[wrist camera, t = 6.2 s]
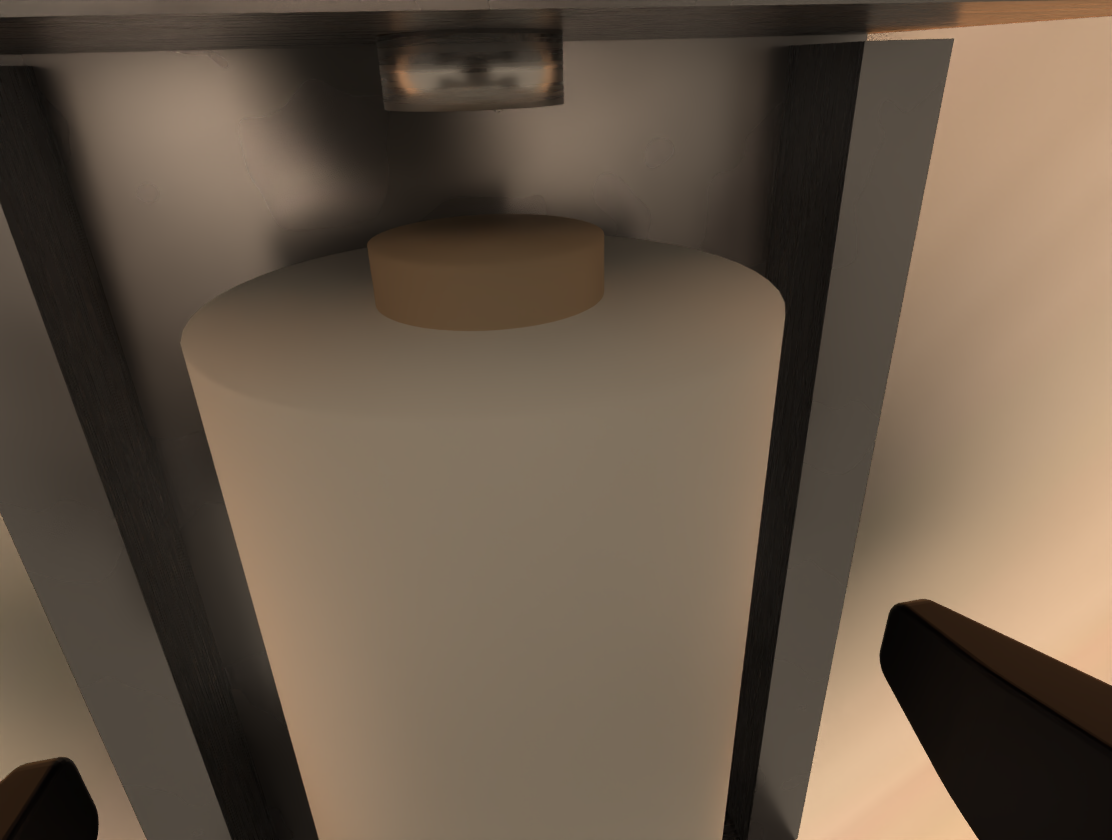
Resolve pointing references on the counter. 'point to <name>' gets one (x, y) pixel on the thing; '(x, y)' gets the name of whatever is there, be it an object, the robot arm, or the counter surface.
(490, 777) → the roll
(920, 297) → the counter surface
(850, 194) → the holder
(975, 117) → the counter surface
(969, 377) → the counter surface
